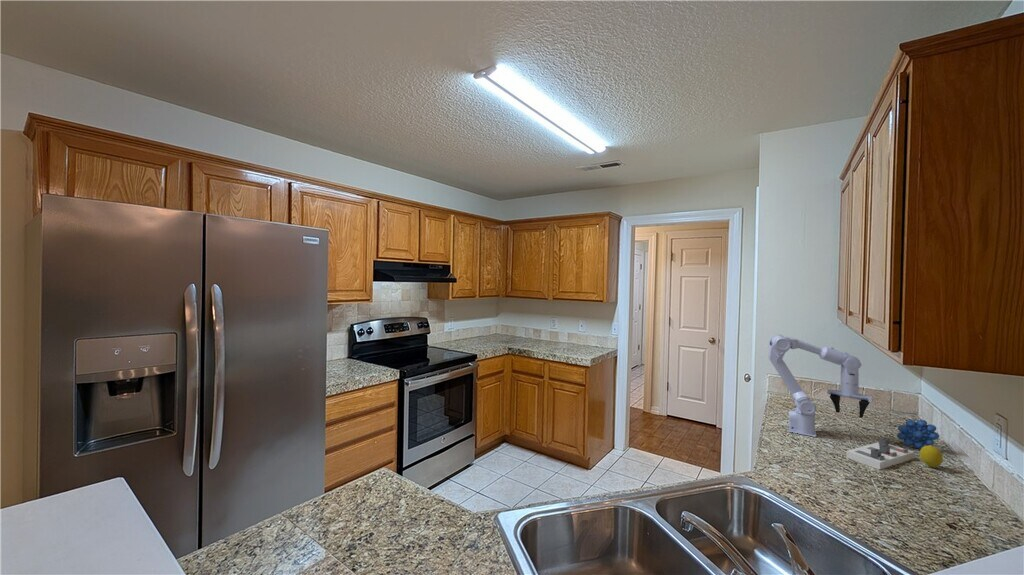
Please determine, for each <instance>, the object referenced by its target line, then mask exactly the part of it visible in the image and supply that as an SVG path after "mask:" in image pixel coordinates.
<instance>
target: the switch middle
mask: <svg viewBox="0 0 1024 575" xmlns="http://www.w3.org/2000/svg"><path fill="white" fill-rule="evenodd" d="M879 450H880V451H881V452H882V453H886V454H887V453H890V446H887V444H885V445H884V444H882V445H880V446H879Z"/></svg>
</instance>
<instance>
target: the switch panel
mask: <svg viewBox="0 0 1024 575" xmlns="http://www.w3.org/2000/svg"><path fill="white" fill-rule="evenodd" d="M879 446H880V444H879V441H876V442H874V443H871V444H867V445H864V446H859V447H856V448H853V449H848V450H846V458H847V459H850V460H852V461H855V462H858V463H861V464H864V465H866V466H869V467H871V468H875V469H878V470H883V469H886V468H889V467H893V466H895V465H898V464H902V463H905V462H908V461H911V460H914V459H915V451H913V450H910V449H909V448H907V447H905V448H902V447H899V446H896V445H893V444H890V443H889V445H888V446H890V453H887V454H886V453H882V452H881V456H879V457H878V459H877V458H874V457H871V450H872V449H879ZM892 465H893V466H892Z"/></svg>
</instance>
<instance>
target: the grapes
mask: <svg viewBox="0 0 1024 575" xmlns="http://www.w3.org/2000/svg"><path fill="white" fill-rule="evenodd" d="M904 423H905V424H900V425H899V426H898V427H897V429H898V431H899V432H897V434H896V437H897V438H898V439H899V440H902V443H903V445H904V446H906V447H912V446H913V447H914V448H915V449H917V450H921V448H922V447H924V446H929V445H932V446H933V447H934V445H935V441H934V440H938V439H939V438H940V434H939V433H938V432H936V430H937V427H936V425H934V424H931V423H930V424H928V422H927V421H926V420H924V419H918V420H917V421H915V420H913V419H908V420H906V421H905V422H904Z"/></svg>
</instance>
